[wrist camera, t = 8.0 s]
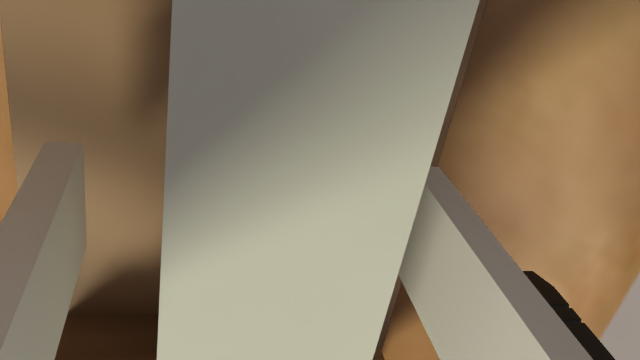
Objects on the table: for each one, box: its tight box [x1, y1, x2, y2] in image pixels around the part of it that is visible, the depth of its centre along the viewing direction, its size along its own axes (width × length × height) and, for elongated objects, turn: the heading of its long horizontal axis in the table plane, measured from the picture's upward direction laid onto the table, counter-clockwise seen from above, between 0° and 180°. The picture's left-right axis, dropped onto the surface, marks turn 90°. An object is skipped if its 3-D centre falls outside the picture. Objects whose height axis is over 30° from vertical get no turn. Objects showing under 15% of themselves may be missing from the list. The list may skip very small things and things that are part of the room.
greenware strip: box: [157, 0, 480, 360], centre depth 11 cm, size 16×4×4 cm, turn 170°
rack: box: [0, 0, 487, 360], centre depth 14 cm, size 20×12×7 cm, turn 170°
